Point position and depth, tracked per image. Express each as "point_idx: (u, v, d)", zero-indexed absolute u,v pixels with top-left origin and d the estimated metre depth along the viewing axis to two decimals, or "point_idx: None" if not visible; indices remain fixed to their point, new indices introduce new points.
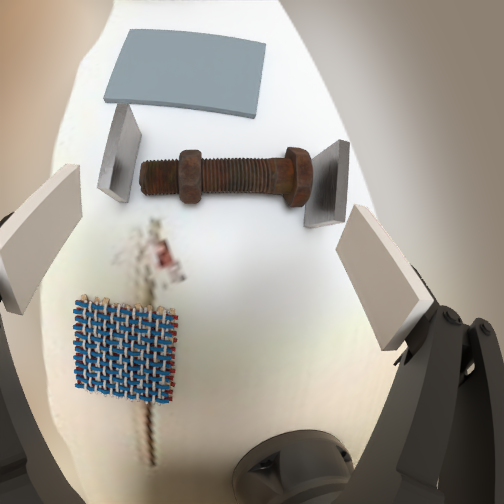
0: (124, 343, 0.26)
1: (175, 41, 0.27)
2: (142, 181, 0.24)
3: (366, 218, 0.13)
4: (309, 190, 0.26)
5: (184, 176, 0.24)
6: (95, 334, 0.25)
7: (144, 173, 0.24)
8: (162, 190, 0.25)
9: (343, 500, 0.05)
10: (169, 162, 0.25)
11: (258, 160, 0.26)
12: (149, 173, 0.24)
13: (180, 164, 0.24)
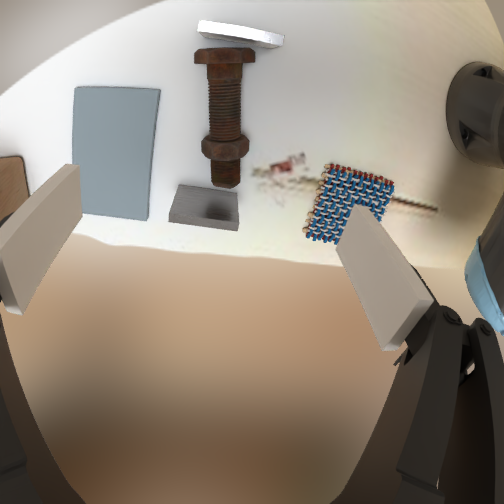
0: (344, 207, 0.37)
1: (85, 170, 0.31)
2: (231, 186, 0.32)
3: (366, 218, 0.13)
4: (244, 50, 0.23)
5: (230, 156, 0.29)
6: (333, 227, 0.38)
7: (224, 184, 0.32)
8: (238, 169, 0.32)
9: (342, 500, 0.05)
10: (215, 165, 0.31)
11: (212, 92, 0.26)
12: (225, 181, 0.31)
13: (220, 159, 0.29)
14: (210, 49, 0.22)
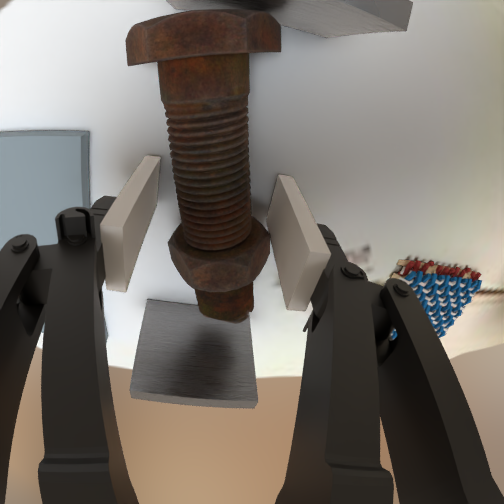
0: None
1: None
2: (238, 321, 0.16)
3: (284, 185, 0.14)
4: (254, 15, 0.07)
5: (233, 284, 0.14)
6: None
7: None
8: (249, 290, 0.16)
9: (287, 493, 0.05)
10: (202, 291, 0.15)
11: (174, 136, 0.10)
12: (225, 317, 0.16)
13: (210, 291, 0.14)
14: (154, 20, 0.07)
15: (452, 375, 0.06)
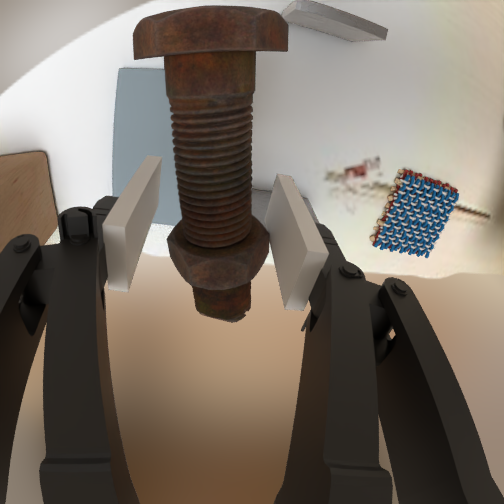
0: (413, 215, 0.32)
1: (128, 168, 0.28)
2: (235, 320, 0.16)
3: (283, 184, 0.14)
4: (263, 14, 0.07)
5: (231, 282, 0.13)
6: (400, 235, 0.34)
7: (221, 318, 0.16)
8: (247, 289, 0.16)
9: (286, 493, 0.05)
10: (200, 288, 0.15)
11: (178, 131, 0.10)
12: (222, 315, 0.16)
13: (208, 288, 0.14)
14: (164, 14, 0.07)
15: (451, 374, 0.06)
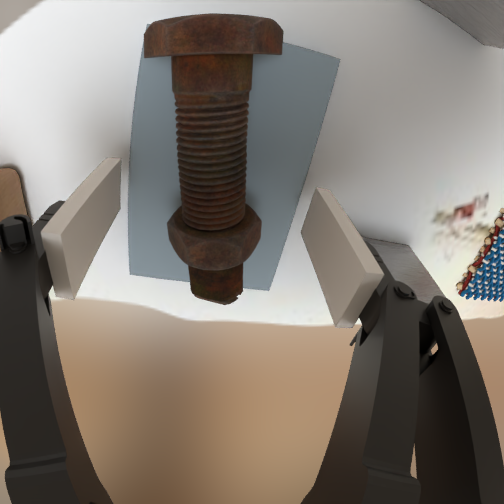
0: None
1: (156, 201, 0.17)
2: (227, 302, 0.18)
3: (325, 199, 0.14)
4: (261, 22, 0.08)
5: (225, 263, 0.15)
6: (487, 282, 0.24)
7: (215, 300, 0.18)
8: (240, 273, 0.17)
9: (315, 495, 0.05)
10: (196, 270, 0.16)
11: (182, 123, 0.12)
12: (216, 297, 0.17)
13: (203, 268, 0.15)
14: (174, 19, 0.08)
15: (483, 389, 0.06)
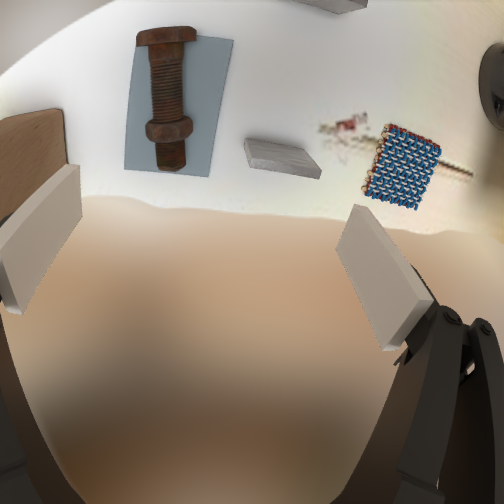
0: (400, 166, 0.35)
1: (142, 120, 0.29)
2: (176, 169, 0.30)
3: (366, 218, 0.13)
4: (181, 28, 0.20)
5: (171, 137, 0.27)
6: (390, 185, 0.37)
7: (169, 168, 0.30)
8: (182, 151, 0.29)
9: (343, 500, 0.05)
10: (158, 148, 0.28)
11: (152, 73, 0.24)
12: (169, 164, 0.29)
13: (161, 141, 0.27)
14: (148, 30, 0.20)
15: None
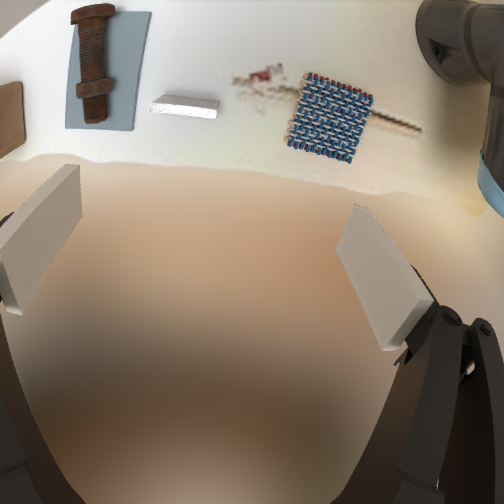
0: (324, 115, 0.35)
1: None
2: (96, 121, 0.30)
3: (366, 218, 0.13)
4: (99, 5, 0.21)
5: (90, 93, 0.27)
6: (314, 135, 0.37)
7: (91, 120, 0.30)
8: (103, 105, 0.29)
9: (342, 501, 0.05)
10: (83, 104, 0.28)
11: (79, 43, 0.24)
12: (91, 117, 0.29)
13: (83, 97, 0.27)
14: (74, 10, 0.20)
15: None
